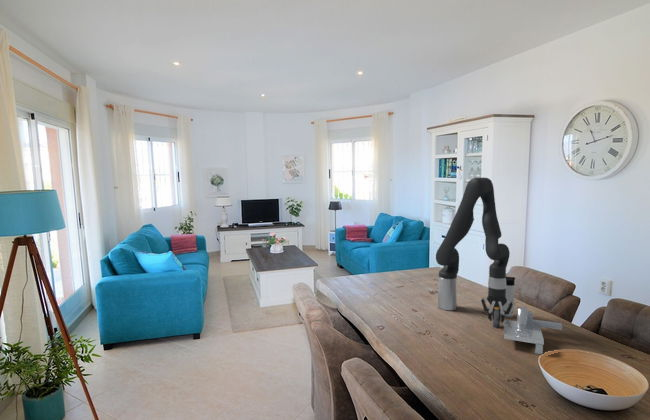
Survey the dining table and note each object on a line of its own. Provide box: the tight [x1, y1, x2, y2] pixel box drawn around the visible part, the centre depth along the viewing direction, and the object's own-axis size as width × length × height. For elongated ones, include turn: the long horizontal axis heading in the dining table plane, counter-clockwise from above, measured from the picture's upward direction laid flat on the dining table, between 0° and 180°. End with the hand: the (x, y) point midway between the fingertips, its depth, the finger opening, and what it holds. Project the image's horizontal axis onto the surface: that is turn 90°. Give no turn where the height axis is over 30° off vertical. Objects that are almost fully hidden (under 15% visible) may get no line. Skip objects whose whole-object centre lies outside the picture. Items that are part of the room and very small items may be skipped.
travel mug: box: [500, 276, 516, 319], centre depth 178 cm, size 6×7×20 cm
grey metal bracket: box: [503, 306, 563, 355], centre depth 148 cm, size 22×16×14 cm
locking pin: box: [492, 307, 501, 329], centre depth 166 cm, size 3×3×10 cm
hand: (496, 320), depth 167 cm, fingers open, 4 cm apart
